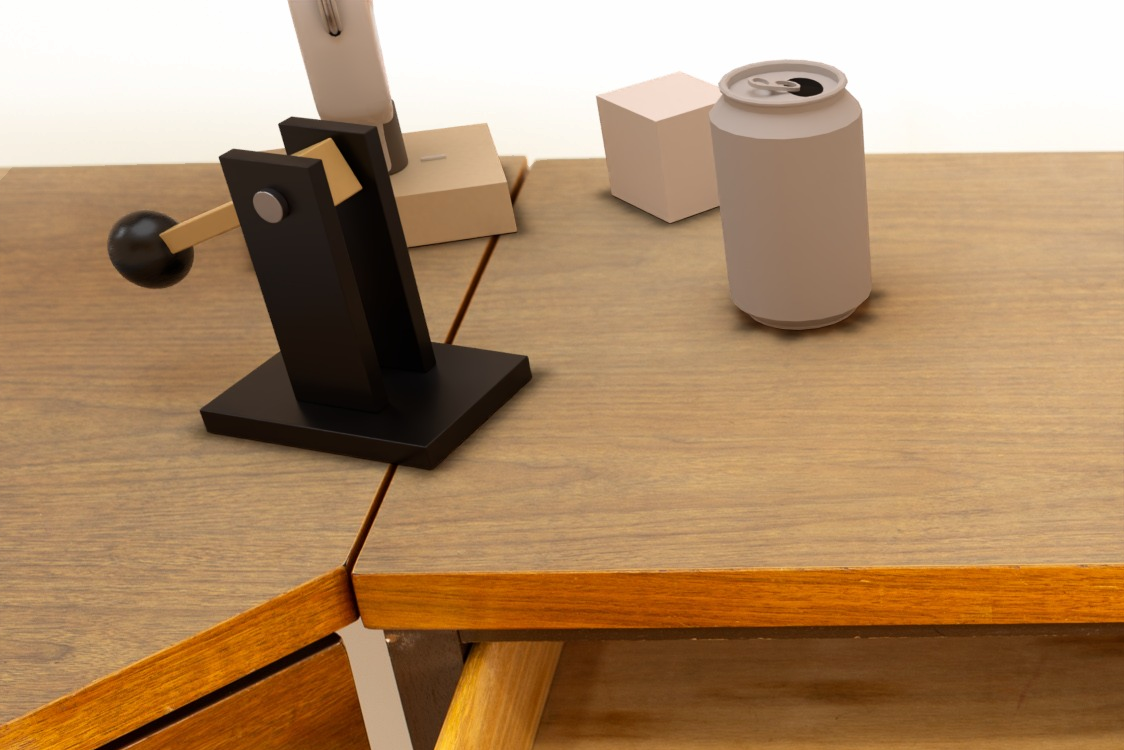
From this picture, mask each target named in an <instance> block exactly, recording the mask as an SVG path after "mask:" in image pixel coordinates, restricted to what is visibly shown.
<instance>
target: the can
mask: <svg viewBox="0 0 1124 750" xmlns="http://www.w3.org/2000/svg"><path fill="white" fill-rule="evenodd" d="M848 83H849V81H848V77H847V76H846V73H845V72H843V71H842V70H840V69H838V68H837V67H836V66H834V65H830V64H827V63H824V62H822V61H821V62H820V61H813V60H808V59H807V60H806V59H788V58H787V59H785V58H784V59H773V60H772V59H771V60H763V61H758V62H752V63H748V64H745V65H741V66H739V67H735V68H734V69H732V70H730V71H729V72H726V73H725V74H724V75H723V76H722V77H721V78H720V80H719V81H718V85H717V86H718V87H719V89H720V92H721V93H722V95H721V97H720V98H719V99H718V101H717V102H716V103H715V105H714V106H713V108H712V109H711V111H710V112H709V119H710V128H711V136H712V145H713V153H714V162H715V170H716V179H717V187H718V196H719V204H720V206H719V211H720V221H721V228H722V237H723V246H724V254H725V262H726V271H727V280H728V289H729V295H730V300H731V302H732V303H733V304H734V305H736V307H737V308H738V309H739V310H741V311H742V312H744V313H746V314H748V315H749V316H750V317H751V318H752V319H753V320H754V321H755V322H758V323H759V324H763V325H764V326H767V327H771V328H776V329H781V330H794V331H795V330H797V331H798V330H799V331H803V330H811V329H819V328H824V327H828V326H831V325H835V324H836V323H839V322H841V321H843V320H845V319H848V318H849V317H850V316H851V315H852V314H853V313H855V312H856V310H857V308H858V307H859V306H860V305H862V303H863V302H865V301H866V300H867V299H868V298H869V296H870V294H871V292H872V288H873V279H872V278H873V277H872V262H871V244H870V226H869V210H868V209H869V207H868V190H867V174H866V157H865V156H866V155H865V154H866V153H865V138H864V118H863V117H864V116H863V108H862V106H861V104H860V101H859V100H858V99H857V98H856V97H855V96H854V95H853V94H852V93H851V92H850V91H849V90H848V89H847V86H848V85H847V84H848Z"/></svg>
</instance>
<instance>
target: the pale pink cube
mask: <svg viewBox="0 0 1124 750" xmlns="http://www.w3.org/2000/svg"><path fill="white" fill-rule="evenodd" d="M721 95H722V93H721V92H720V89H719V85H716V84H713V83H711V82H709V81H708V82H707V81H705V80H704V79H700V78H698V77H696V76H693V75H690V74H688V73H686V72H683V71H681V70H679V71H676V72H672V73H669V74H666V75H665V74H664V75H662V76H659V77H655V78H652V79H648V80H645V81H641V82H638V83H635V84H631V85H628V86H624V87H620V88H617V89H614V90H610V91H607V92H602V93H600V94H596V95H595V99H596V107H597V111H598V118H599V124H600V130H601V137H602V144H603V148H604V155H605V161H606V167H607V173H608V174H607V175H608V179H609V185H610V191H611V195H612V196H613V197H616V198H618V199H619V200H622V201H624V202H625V203H628V204H630V205H632V206H634V207H635V208H638V209H640V210H642V211H644V212H646V213H648V214H650V215H653V216H654V217H656V218H659V219H661V220H662V221H664V222H666V223H669V224H671V223H676V222H678V221H681V220H683V219H686V218H688V217H691V216H695V215H697V214H701V213H704V212H707V211H708V210H712V209H714V208H718V207H720V204H719V196H718V187H717V179H716V170H715V162H714V153H713V145H712V136H711V128H710V119H709V112H710V111H711V109H712V108H713V106H714V105H715V103H716V102H717V101H718V99H719V98H720V97H721Z"/></svg>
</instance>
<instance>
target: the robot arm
mask: <svg viewBox="0 0 1124 750" xmlns="http://www.w3.org/2000/svg"><path fill="white" fill-rule="evenodd" d="M287 5H288V9H289V12H290V16H291V20H292V25H293V29H294V32H295V35H296V39H297V43H298V47H299V50H300V54H301V58H302V62H303V65H304V70H305V73H306V76H307V80H308V84H309V87H310V91H311V95H312V98H313V99H312V100H313V102H314V105H315V109H316V111H317V114H318V116H319V120H327V121H336V122H345V123H353V124H362V125H371V126H377V128H378V132H379V136H380V140H381V144H382V148H383V152H384V156H385V160H386V164H387V168H388V172H389V171H390V170H391V161H390V157H389V153H388V149H387V145H386V141H385V136H384V129H383V124H384V123H388V122H390V121H391V120H392V118H393V104H392V100H393V98H392V94H391V90H390V84H389V80H388V74H387V69H386V65H385V60H384V55H383V50H382V45H381V41H380V35H379V30H378V26H377V22H376V17H375V11H374V1H373V0H287Z"/></svg>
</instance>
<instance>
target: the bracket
mask: <svg viewBox="0 0 1124 750" xmlns="http://www.w3.org/2000/svg"><path fill="white" fill-rule="evenodd" d="M277 126H278V129H279V130H278V131H279V133H280V136H281V140H282V143H283V146H284V147H283V148H285V150H286V154H287V155H283V154H275V153H266V152H258V151H259V150H257V151H256V150H248V149H241V148H231V149H230V150H228V151H226V152H224V153H222V154H221V155H219V156H218V160H219V163H220V167H221V170H222V173H223V176H224V179H225V182H226V186H227V189H228V193H229V195H230V198H231V201H233V204H234V208H235V211H236V214H237V217H238V220H239V223H240V226H239V227H240V229H241V232H242V235H243V239H244V242H245V245H246V248H247V251H248V254H249V257H250V260H251V264H252V267H253V270H254V273H255V276H256V279H257V283H258V286H259V289H260V291H261V295H262V298H263V301H264V304H265V309H266V310H267V314H268V317H269V320H270V323H271V326H272V329H273V333H274V336H275V339H276V343H277V345H278V349H279V350H278V352H276V353H275V354H274V355H272V356H271V357H270V358H268V359H267V360H265V361H264V362H263V363H261V364H260V365H259V366H258V367H256V368H255V369H253V370H252V371H250V372H249V373H247V374H246V375H245V376H243V377H242V378H241V379H239V380H238V381H237V382H235V383H233V384H232V385H230V386H229V387H228V388H227V389H225V390H224V391H223V392H221V393H220V394H219V395H217V396H216V397H215V398H213V399H212V400H210V401H209V402H208V403H206V404H205V405H203V406H202V407H201V408H200V409H198V410H199V414H200V416H201V419H202V422H203V425H204V427H205V430H206V432H207V433H213V434H219V435H225V436H230V437H235V438H236V437H237V438H242V439H249V440H254V441H260V442H266V443H271V444H278V445H283V446H289V447H290V446H291V447H295V448H302V449H307V450H313V451H319V452H326V453H330V454H337V455H343V456H349V457H353V458H355V457H356V458H359V459H360V458H361V459H365V460H366V459H367V460H373V461H379V462H385V463H391V464H396V465H401V466H402V465H403V466H408V467H414V468H418V469H420V468H421V469H426V470H434V469H435V467H437V466H438V465H439V464H440V463H441V462H442V461H443V460H444V459H446V458H447V456H449V455H450V454H451V453H452V452H453V451H454V450H455V449H456V448H457V447H458V446H460V445H461V444H462V443H463V442H464V441H465V440H466V439H467V438H468V437H469V436H470V435H471V434H473V432H475V431H476V430H477V429H478V428H479V427H480V426H481V425H482V424H484V422H486V420H488V419H489V418H490V417H491V416H492V415H494V413H495V412H496V411H497V410H498V409H500V408H501V407H502V406H503V405H504V404H506V402H507V401H508V400H510V399H511V398H512V397H513V396H514V395H515V394H516V393H517V392H518V391H519V390H521V389H522V388H523V386H525V385H526V384H527V383H528V382H529V381H530V380H531V379H532V378H533V374H532V369H531V365H530V360H529V356H528V355H524V354H518V353H511V352H505V351H498V350H491V349H486V348H485V349H484V348H478V347H472V346H471V347H470V346H464V345H457V344H451V343H444V342H438V341H432V339H431V335H430V331H429V327H428V323H427V319H426V316H425V311H424V308H423V307H424V306H423V304H422V300H421V296H420V292H419V288H418V283H417V280H416V276H415V275H416V274H415V272H414V269H413V263H412V260H411V256H410V251H409V247H407V243H406V239H405V235H404V232H403V228H402V224H401V220H400V216H399V212H398V208H397V204H396V200H395V196H394V192H393V188H392V184H391V180H390V176H389V172H388V168H387V164H386V160H385V156H384V152H383V148H382V144H381V140H380V136H379V132H378V128H377V126H371V125H362V124H353V123H345V122H336V121H327V120H321V119H317V118H309V117H300V116H293V115H292V116H290V117H287V118H286V119H284V120H282V121H281V122H279V123H278V124H277ZM328 138H331V139H332V140H333V141H334V143H335V145H336V146H337V148H338V149H339V151H340V153H341V154H342V156H343V157H344V159H345V161H346V162H347V164H348V165H349V167H350V169H351V170H352V172H353V173H354V175H355V177H356V178H357V180H358V181H359V183H360V185H361V186H362V190H360V191H358V192H357V193H355V194H354V195H352V196H351V197H349V198H348V199H346V200H344V201H343V202H341V203H340V204H338V205H337V206H335V205H334V201H333V198H332V194H331V190H330V187H329V183H328V180H327V176H326V172H325V169H324V165H323V162H322V159H316V158H308V157H299V156H291V155H292V154H294V153H297V152H299V151H301V150H303V149H306V148H308V147H310V146H312V145H315V144H317V143H319V142H321V141H324V140H326V139H328Z"/></svg>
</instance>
